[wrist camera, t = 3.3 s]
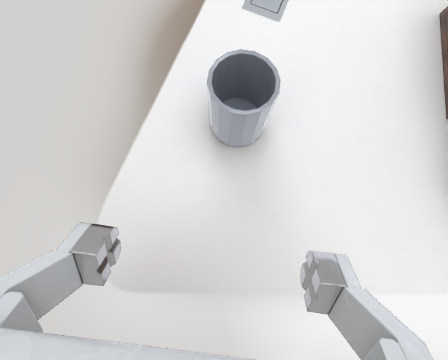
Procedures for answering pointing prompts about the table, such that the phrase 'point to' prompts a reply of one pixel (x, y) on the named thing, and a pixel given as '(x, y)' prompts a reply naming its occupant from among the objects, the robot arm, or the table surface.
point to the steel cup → (241, 96)
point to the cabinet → (445, 50)
